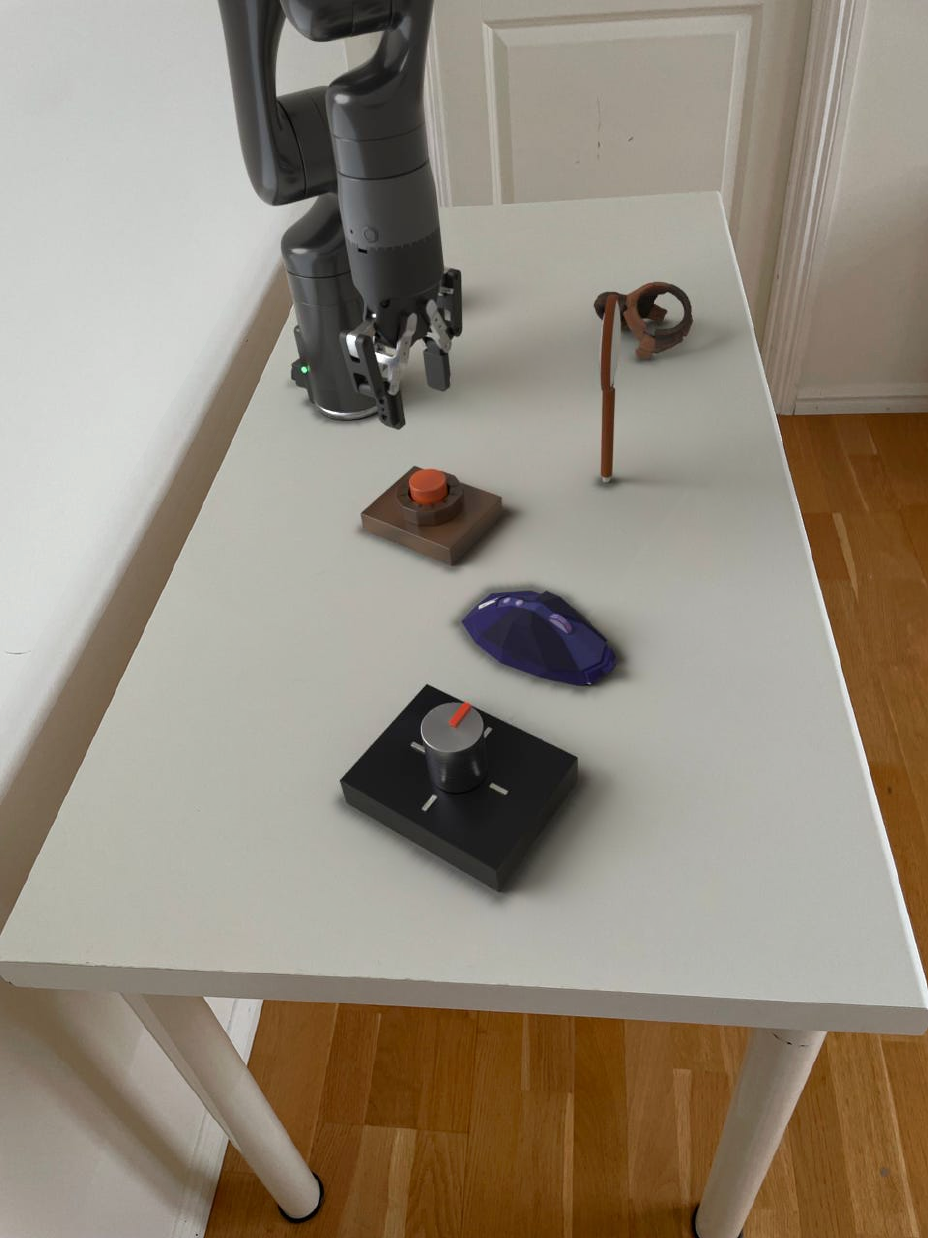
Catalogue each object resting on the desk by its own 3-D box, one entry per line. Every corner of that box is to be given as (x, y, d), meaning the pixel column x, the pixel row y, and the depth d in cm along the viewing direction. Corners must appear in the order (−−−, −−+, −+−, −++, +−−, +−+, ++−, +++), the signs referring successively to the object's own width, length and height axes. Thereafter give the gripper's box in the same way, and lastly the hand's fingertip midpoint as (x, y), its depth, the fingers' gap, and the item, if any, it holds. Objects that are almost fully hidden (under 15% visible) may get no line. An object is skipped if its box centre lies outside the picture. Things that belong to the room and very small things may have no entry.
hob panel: (346, 803, 72) (338, 779, 70) (430, 706, 78) (426, 682, 76) (498, 892, 66) (496, 869, 63) (578, 780, 71) (578, 755, 69)
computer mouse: (509, 574, 88) (507, 542, 85) (646, 641, 81) (648, 608, 78) (446, 633, 84) (441, 601, 81) (584, 709, 76) (585, 677, 73)
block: (363, 530, 95) (356, 498, 92) (416, 482, 100) (412, 451, 97) (451, 566, 90) (447, 534, 87) (503, 513, 95) (501, 482, 92)
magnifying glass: (610, 508, 94) (616, 323, 80) (592, 507, 94) (595, 323, 80) (618, 457, 100) (625, 277, 85) (602, 456, 100) (607, 276, 86)
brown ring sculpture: (685, 321, 119) (705, 282, 111) (671, 386, 117) (690, 350, 109) (594, 297, 119) (607, 256, 111) (577, 361, 117) (590, 324, 109)
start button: (403, 498, 92) (401, 484, 91) (425, 478, 94) (423, 464, 93) (433, 509, 90) (431, 495, 89) (454, 489, 92) (453, 475, 91)
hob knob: (467, 802, 67) (461, 758, 64) (417, 778, 69) (408, 734, 65) (498, 758, 70) (494, 713, 66) (449, 736, 72) (442, 691, 68)
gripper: (408, 181, 79) (430, 359, 91) (294, 250, 71) (334, 436, 83) (482, 195, 75) (495, 378, 87) (370, 269, 68) (401, 460, 80)
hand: (416, 406), depth 85 cm, fingers open, 6 cm apart
